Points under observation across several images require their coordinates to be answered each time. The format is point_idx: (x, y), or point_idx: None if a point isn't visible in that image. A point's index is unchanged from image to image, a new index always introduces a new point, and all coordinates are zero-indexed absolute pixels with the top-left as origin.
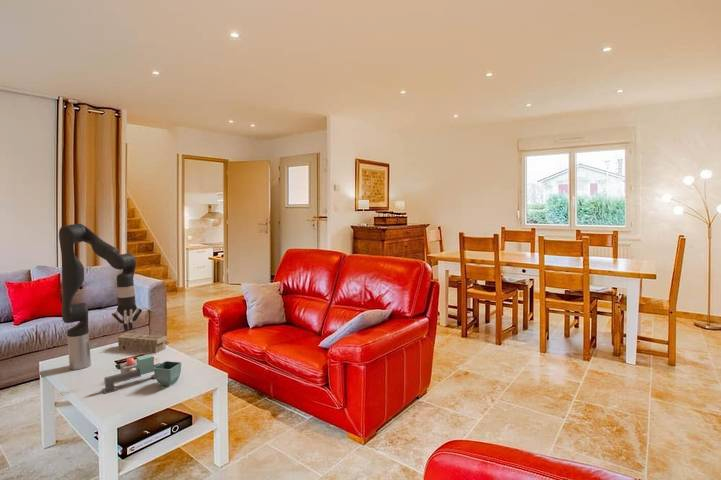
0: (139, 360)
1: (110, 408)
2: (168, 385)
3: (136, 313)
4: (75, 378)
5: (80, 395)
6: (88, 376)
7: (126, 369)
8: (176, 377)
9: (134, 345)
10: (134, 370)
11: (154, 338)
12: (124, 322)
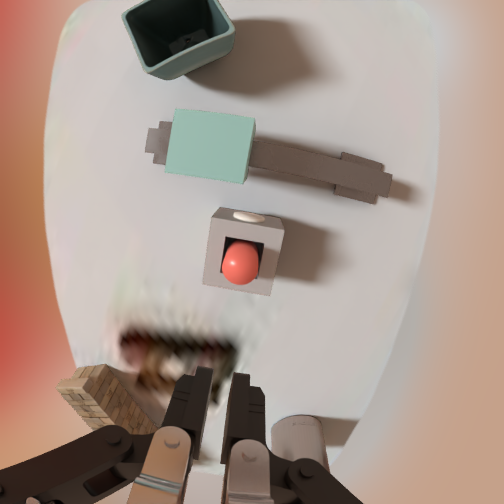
0: (253, 125)
1: (406, 49)
2: (207, 29)
3: (67, 500)
4: (354, 369)
5: (420, 225)
6: (328, 357)
7: (275, 226)
8: (169, 24)
9: (145, 431)
10: (269, 159)
11: (87, 405)
12: (265, 459)
